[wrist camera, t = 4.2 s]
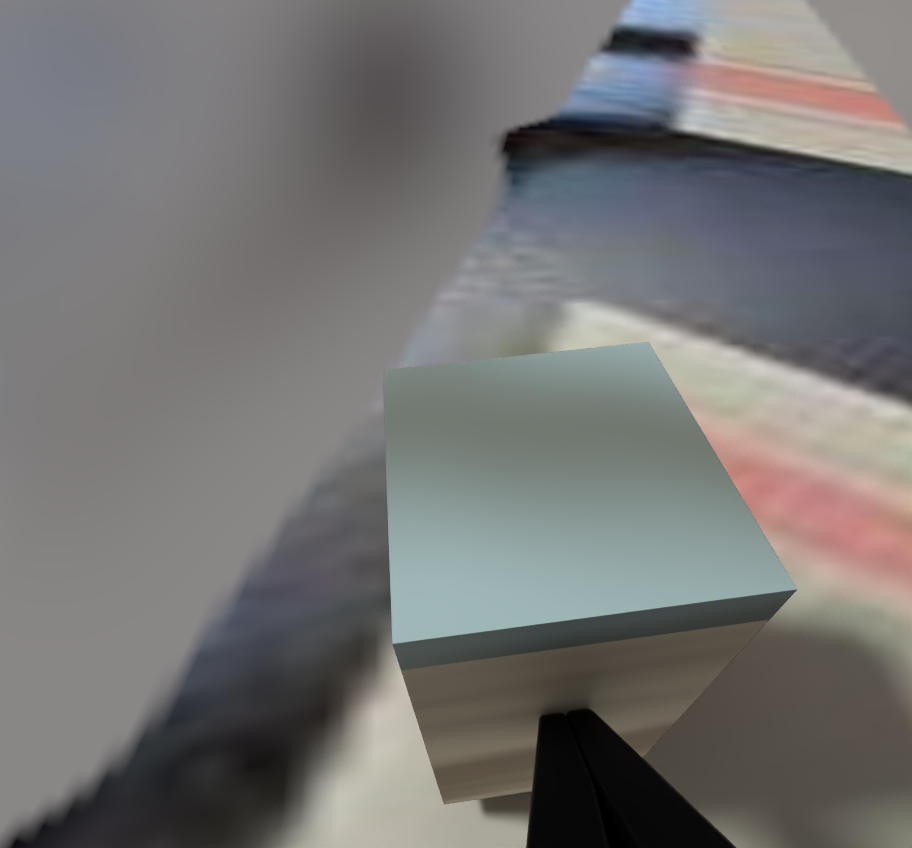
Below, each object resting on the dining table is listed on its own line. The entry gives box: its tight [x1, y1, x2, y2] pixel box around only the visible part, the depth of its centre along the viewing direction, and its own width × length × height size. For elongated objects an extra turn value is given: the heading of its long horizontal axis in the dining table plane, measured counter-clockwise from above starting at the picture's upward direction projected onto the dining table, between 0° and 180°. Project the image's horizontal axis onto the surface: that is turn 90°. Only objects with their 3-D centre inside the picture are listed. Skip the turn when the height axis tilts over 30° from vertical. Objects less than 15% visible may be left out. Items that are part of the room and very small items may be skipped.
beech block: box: [383, 342, 797, 804], centre depth 11 cm, size 4×4×10 cm
